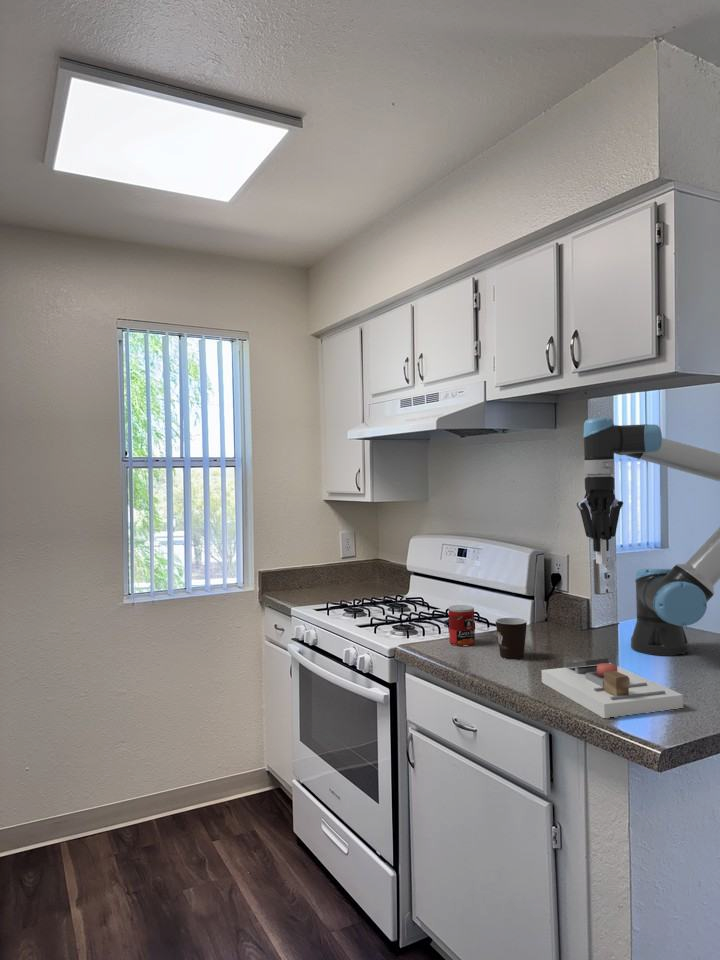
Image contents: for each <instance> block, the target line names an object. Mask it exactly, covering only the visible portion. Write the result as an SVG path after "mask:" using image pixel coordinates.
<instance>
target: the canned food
mask: <svg viewBox="0 0 720 960" xmlns="http://www.w3.org/2000/svg"><path fill="white" fill-rule="evenodd" d="M448 632H449V635H448V636H449V637H448V638H449V643H450V644H451V643H452V644H455V645H471V646H473V645H475V642H476V638H475V636H476V634H475V633H476V632H475V607H474V606H472V605H467V604H456V605H450V606H448ZM452 644H451V645H452Z"/></svg>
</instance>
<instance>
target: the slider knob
mask: <svg viewBox="0 0 720 960" xmlns="http://www.w3.org/2000/svg"><path fill="white" fill-rule="evenodd" d="M604 691H606V692H608V693H610V694H612V695H614V696H622V695H629V682H628V676H626V675H624V674H622V673H619V672H617V671H610V672H604Z"/></svg>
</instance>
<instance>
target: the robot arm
mask: <svg viewBox="0 0 720 960" xmlns="http://www.w3.org/2000/svg"><path fill="white" fill-rule="evenodd" d="M582 437H583V455H584V457H583V458H584V466H583V467H584V474H583V475H585V476H586V477H585V478H584V491H585V495H584V498H583V500H581V501H579V502H577V503H576V506H577V509H578V510H579V511H580V517H581V520H582V525H583V528H584V532H585V533H584V534H585V536H586V537H587V538H590V540H591V539H592V540H593V541H592V545H593V546H592V548H593V552H595V564H598V565H608V563H607V562H608V561H607V559H608V558H607V554H608V553H607V552H609V549H610V542H609V540H611V539H612V538H614V537H615V536H616V534H617V528H618V524H619V523H618V522H619V518H620V512H621V509H622V507H623V506H624V502H623V501H622V500H619V499H617V498H616V495H615V492H614V490H615V477H614V476H613V475H614V474H615V459H614V458H615V457H614V456H615V454H616V455H618V456H626V457H631V458H634V459H638V460H642V461H645V462H649V463H652V464H656V465H660V466H662V467H663V466H664V467H666V468H670V469H674V470H678V471H681V472H685V473H687V474H691V475H696V476H699V477H702V478H706V479H709V480H713V481H716V482H720V453H719V452H715V451H712V450H708V449H706V448H705V449H704V448H700V447H697V446H693V445H691V444H686V443H682V442H679V441H675V440H671V439H667V438H666V437H665V438H664V437H663V435H662V430H661V427H660V426H659V425H658V424H647V423H645V424H627V425H626V424H625V425H616V424H614V421H613V418H610V417H596V418H589V419H586V420H585V421H584V423H583V435H582ZM634 581H635V595H636V597H635V599H636V600H635V602H636V603H635V604H636V606H635V607H636V622H635V626H634V630H633V633H632V636H631V638H630V648H631V649H632V650H633V651H636V652H638V653H642V652H643V654H649V655H653V654H655V655H657V656H678V655H677V654H682V655H684V654H683V653H686V652H688V651H690V649H689V647H690V646H689V645H690V644H689V641H688V638H687V635H686V632H685V629H684V627H686V626H691V625H693V624H694V625H695V623H698V622H699V621H700V620H701V619H703V617H704V615H705V613H706V612H707V608H708V606H707V605H708V602H709V601H710V599H712V597H713V596H714V595H715V590H714V589H715V587H714V586H715V585H716V584H717V583H718V582H719V581H720V526H719V527H718V528H717V529H716V530H715V531H714V532H713V533H712V535H710V537H709V538H708V539H707V540H706V541H705V542H703V544H702V546H700V548H698V549H697V551H696V552H695V553H694V554H692V556H691V557H690V558H689V559H688V560H687V562H685V563H680V564H675V565H674V566H673V567H672V568H640V569H637V571H636V573H635V579H634ZM688 653H689V652H688ZM686 654H687V653H686ZM655 655H654V656H655Z"/></svg>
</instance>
